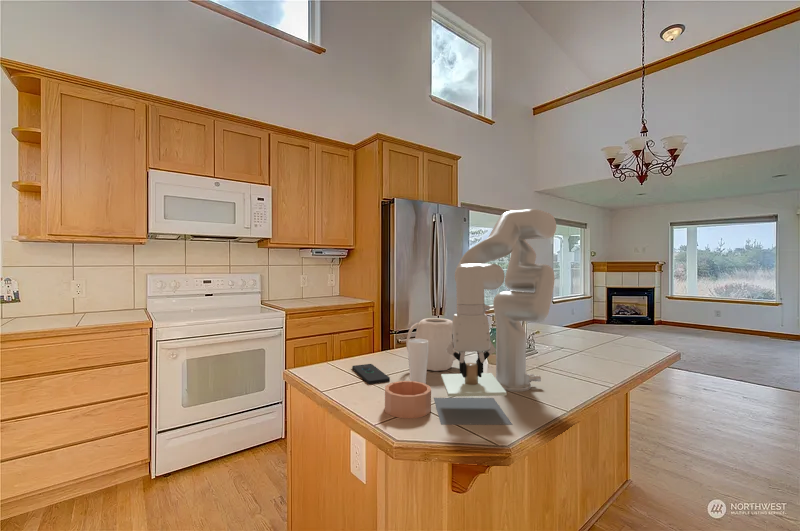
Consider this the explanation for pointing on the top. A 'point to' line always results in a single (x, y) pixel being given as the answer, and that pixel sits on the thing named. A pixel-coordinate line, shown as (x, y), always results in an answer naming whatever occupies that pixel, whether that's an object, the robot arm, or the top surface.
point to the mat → (470, 411)
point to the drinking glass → (418, 359)
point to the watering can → (435, 341)
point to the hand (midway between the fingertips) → (471, 375)
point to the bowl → (407, 399)
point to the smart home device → (370, 374)
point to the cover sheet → (472, 390)
